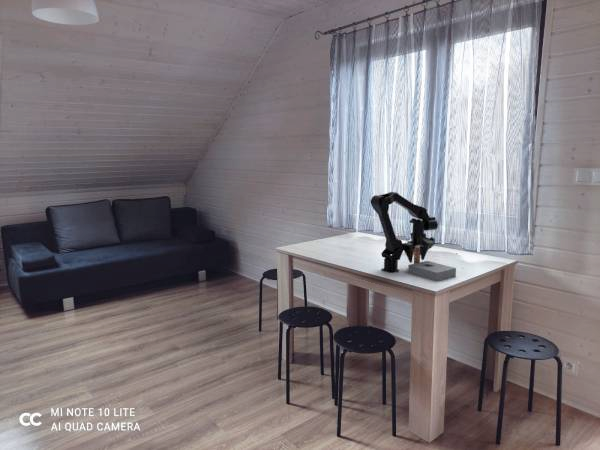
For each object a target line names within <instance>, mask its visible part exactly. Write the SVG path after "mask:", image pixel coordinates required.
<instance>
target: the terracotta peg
mask: <svg viewBox="0 0 600 450" xmlns="http://www.w3.org/2000/svg"><path fill="white" fill-rule="evenodd" d="M420 249H421V248H420V247H415V249H414V250H415V252H414V255H413V264H415V263H420V262H421V254H420Z"/></svg>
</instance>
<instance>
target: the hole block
mask: <svg viewBox="0 0 600 450" xmlns="http://www.w3.org/2000/svg"><path fill="white" fill-rule="evenodd" d="M407 272H408V274H411V275H414V276H418V277H422V278H424V279H429V280H431V281H434V282H438V281H439V282H440V281H442V280H447V279H450V278H455V277H456V275H457V267H453V266H449V265H446V264H441V263H437V262H433V261H429V260H425V261H424V260H423V261H420V263H415V264H414V263H411V264H408V271H407Z"/></svg>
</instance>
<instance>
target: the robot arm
mask: <svg viewBox="0 0 600 450" xmlns="http://www.w3.org/2000/svg"><path fill="white" fill-rule="evenodd" d="M393 203H395V204H397V205H398V206H400V207H401V208H403V209H405V210H406V211H408V214H409V215H410V216H411V217H413V218H411V219H410V220H409V223H410V224H412V229H411V230H412V231H411V232H410V236H411V235H412V241H410V243H407V242H404V243H403V241H402V240H401V239H399V238H397V237H396V234H395V231H394V230H395V229H394V228H393V225H392V221H391V217H390V213H389V209H390V205H391V204H393ZM370 205H371V207H372V209H373V210H374V211H375V213H376V214H377V215H378V218H379V222H380V225H381V228H382V231H383V233H384V237H385V244H384V246H385V248H384V249H383V251H382V252H381V257H382V258H383V259H384V262H383V263H384V264H383V268H381V271H384V272H387V273H395V272H399V271H400V269H398V266H399V265H398V264H399V263H398V262H399V261H400V260H401V257H402V256H403V252H404V254H405V255H406V257H407V260H408V261H409V263H411V264H413V259H414V255H413V253H414V252H415V250H414V249H415V247H420V248H421V249H420V260H421V261H424V260H425V257H426V255H427V253H428V251H429V250H430V249H432V247H434V245H436V238H435V237H433V236H432V237H427V234H426V233H425V232H428V231H436V230H437V229H438V227H439V223H438V221H437V220H436V217H435V216H430V215H429V213H428V210H427V208H426V207H423V206H421V205H418V204H415V203H413V202H412V201H409V200H408V199H407V198H405V197H404V196H402V195H400V194H399V193H398V192H397V191H390V192H387V193H383V194H378V195H376V194H375V195H373V196H372V197H371V199H370ZM411 243H412V244H411Z"/></svg>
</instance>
